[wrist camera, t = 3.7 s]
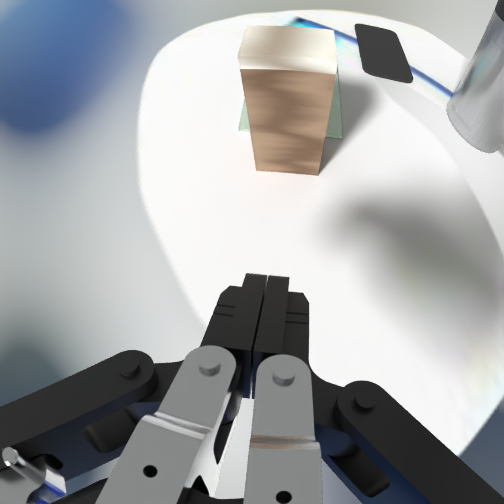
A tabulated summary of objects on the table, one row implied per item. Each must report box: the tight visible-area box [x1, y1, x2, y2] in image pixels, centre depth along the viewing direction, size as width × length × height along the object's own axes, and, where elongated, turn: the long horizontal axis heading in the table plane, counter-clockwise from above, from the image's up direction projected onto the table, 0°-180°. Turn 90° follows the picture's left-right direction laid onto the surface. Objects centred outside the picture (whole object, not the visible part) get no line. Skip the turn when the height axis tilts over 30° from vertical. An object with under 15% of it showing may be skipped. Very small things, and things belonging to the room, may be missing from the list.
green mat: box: [238, 68, 342, 139], centre depth 31 cm, size 11×16×1 cm
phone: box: [355, 24, 413, 83], centre depth 33 cm, size 7×1×15 cm
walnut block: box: [238, 26, 338, 176], centre depth 22 cm, size 6×4×14 cm, turn 83°
